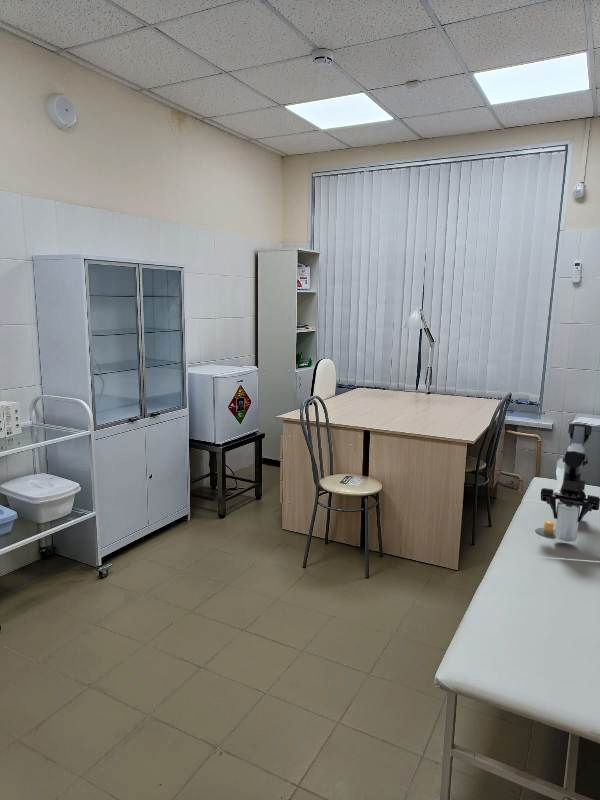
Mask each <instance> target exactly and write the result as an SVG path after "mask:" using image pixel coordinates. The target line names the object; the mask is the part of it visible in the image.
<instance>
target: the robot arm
mask: <svg viewBox="0 0 600 800" xmlns="http://www.w3.org/2000/svg"><path fill="white" fill-rule="evenodd" d="M567 430H568V431H567V432H568V435H569V441H570V445H568V446H567V447H566V451H564V452H563V455H562V458H563V462H564V470H565V471H564V478H563V484H562V488H561V491H560V494H558V493H556V492H555V491H554V489H553V488H547V487H543V488H541V489H540V501H542V502H546V504H547V505H549V506H550V509H551V511H552V515H553V519H554V520H556V510H557V504H556V503H557V500H559V502H560V501H569V502H573V503H576V504H578V505H579V506H580V507H581V508H580V514H579V522H578V525H579V524H581V522H582V520H583V519H584V517H585V516H586V515H587V514H588V513H589V512H592V511H599V510H600V497H599V496H596V495H590V494H586V492H585V486H586V480H582V477H583V467H584V466H587V465H588V464H589V457H588V454H586V450H587V449H586V448H585V446H587V444H588V443H589V441H590V437H592V433H593V426H591V425H590V424H587V423H583V422H582V423H581V422H573V423H569V424H568V429H567Z"/></svg>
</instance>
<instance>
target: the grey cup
mask: <svg viewBox="0 0 600 800" xmlns="http://www.w3.org/2000/svg"><path fill="white" fill-rule="evenodd" d="M580 513H581V506H579V505H578V504H576V503H573V502H569V501H560V500H559V501H558V502H557V504H556V519H554V520H555V522H554V536H555V538H554V539H558V540H560V541H563V542H569V543H570V542H576V541H577V539H578V531H579V523H578V522H579V516H580Z"/></svg>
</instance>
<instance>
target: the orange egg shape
mask: <svg viewBox="0 0 600 800" xmlns="http://www.w3.org/2000/svg"><path fill="white" fill-rule="evenodd" d="M543 524H544V525H543V528H544V533H545V534H548V535H552V534H553V529H555V522H554V521H550V520H545V521H544V523H543Z"/></svg>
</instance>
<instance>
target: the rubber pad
mask: <svg viewBox="0 0 600 800" xmlns="http://www.w3.org/2000/svg"><path fill="white" fill-rule="evenodd" d="M554 529H555V528H554ZM554 529H553V534H552V535H548V534H545V533H544V527H538V528H536V529H534V531H535V534H537V535H538V536H540V537H544V538H547V539H548V538H549V539H556V538H555V536H554Z"/></svg>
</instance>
